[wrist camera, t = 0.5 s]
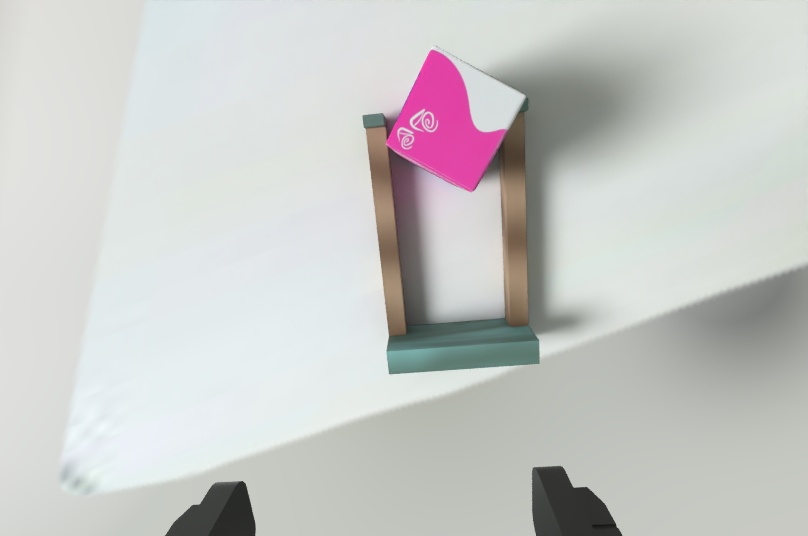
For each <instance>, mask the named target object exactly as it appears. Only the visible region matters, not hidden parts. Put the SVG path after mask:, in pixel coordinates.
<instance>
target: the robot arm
mask: <svg viewBox="0 0 808 536" xmlns="http://www.w3.org/2000/svg"><path fill="white" fill-rule="evenodd" d="M532 513H533V521H534V527H535V532H536V536H622V534H621V532H620V531H619V529H618V528H617V527H616V523H615V521H614V520H613V518H612V516H611V514H610V512H609V511H608V509H607V507H606V505H605V504H604V503H603V502H602V501H601V500H600V499H599V498H598V497H597V496H596V495H595V494H594V493H593V492H592V491H590V489H588V488H587V487H580V488H573V486H572V484H571V482H570V480H569V478H568V476H567V474H566V472H565V470H564V468H563V467H561V466H552V467H534V468H533V471H532ZM255 530H256V528H255V520H254V516H253V512H252V508H251V503H250V499H249V495H248V491H247V487H246V484H245V483H244V482H243V481H238V482H218V483H215V484H213V485H212V487H211V488H210V489H209V491H208V492H207V494H206V496H205V497H204V499H203V501H202V502H201V504H200V505H192V506H191V507H190V508H189V509H188V510H187V511H186V512H185V513H184V514H183V515H182V516H181V517H179V518H178V519H177V520H176V521H175V522H174V523H173V525H172V526H171V528H170V529H169V531H168V532H167V534H166V535H165V536H255Z"/></svg>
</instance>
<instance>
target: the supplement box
mask: <svg viewBox="0 0 808 536" xmlns="http://www.w3.org/2000/svg"><path fill="white" fill-rule="evenodd" d="M525 99H526V95H525V94H524V93H522V92H520V91H518V90H516V89H514V88H513V87H511V86H509V85H507V84H505V83H503V82H501V81H500V80H498V79H496V78H494V77H492V76H490V75H488V74H486V73H485V72H483V71H481V70H479V69H477V68H475V67H474V66H472V65H470V64H468V63H466V62H464V61H462V60H460V59H458V58H457V57H455V56H453V55H451V54H450V53H448V52H446V51H444V50H442V49H440V48H439V47H437V46H435V45H434V46H433V47H432V48H431V50H430V52H429V54H428V56H427V58H426V60H425V62H424V64H423V67H422V69H421V71H420V73H419V75H418V77H417V79H416V81H415V83H414V85H413V87H412V90H411V92H410V94H409V96H408V98H407V100H406V102H405V104H404V106H403V108H402V111H401V113H400V115H399V117H398V119H397V121H396V123H395V125H394V127H393V129H392V132H391V134H390V136H389V138H388V140H387V142H386V145H387V146H388V147H389V148H391V149H392V150H393V151H394V152H396V153H397V154H398V155H400V156H401V157H403V158H405V159H406V160H408V161H410V162H412V163H414V164H415V165H417V166H419V167H421V168H423V169H424V170H426V171H428V172H430V173H432V174H434V175H436V176H437V177H439V178H441V179H443V180H445V181H447V182H449V183H451V184H453V185H455V186H457V187H460V188H462V189H465V190H467V191H470V192H473V191H474V190H475V189H476V188H477V186H478V184H479V182H480V181H481V179H482V177H483V176H484V174H485V172H486V170H487V168H488V167H489V165H490V163H491V161H492V160H493V158H494V156H495V154H496V152H497V151H498V149H499V147H500V145H501V143H502V141H503V140H504V138H505V136H506V134H507V132H508V130H509V128H510V127H511V125H512V123H513V121H514V119H515V118H516V116H517V114H518V112H519V110H520V108H521V106H522V105H523V103H524V101H525Z"/></svg>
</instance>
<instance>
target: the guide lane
mask: <svg viewBox="0 0 808 536" xmlns="http://www.w3.org/2000/svg"><path fill="white" fill-rule="evenodd" d="M527 110H528V98H526V99H525V101H524V103H523V105H522V106H521V108H520V110H519V112H518V114H517V116H516V118H515V119H514V121H513V123H512V125H511V127H510V128H509V130H508V132H507V134H506V136H505V138H504V140H503V141H502V143H501V145H500V147H499V152H500V180H501V208H502V236H503V265H504V293H505V319H492V320H479V321H466V322H453V323H440V324H427V325H414V326H407V323H406V313H405V303H404V293H403V283H402V273H401V263H400V253H399V243H398V233H397V223H396V213H395V203H394V193H393V183H392V173H391V163H390V153H389V147H388V146H387V145H386V142H387V140H388V133H387V123H386V118H385V116H384V115H383V113H381V114H372V115H363V124H364V128H366V134H367V143H368V152H369V161H370V170H371V179H372V188H373V197H374V206H375V214H376V223H377V232H378V241H379V250H380V259H381V268H382V277H383V286H384V295H385V304H386V313H387V322H388V330H389V340H388V346H387V360H388V369H389V374H400V373H414V372H428V371H443V370H457V369H471V368H485V367H499V366H514V365H528V364H539V339H538V338H537V337H536V335H535V334H534V333H533V331H532V330H531V329H530V327H529V326H528V286H527V238H526V190H525V142H524V112H525V111H527Z"/></svg>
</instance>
